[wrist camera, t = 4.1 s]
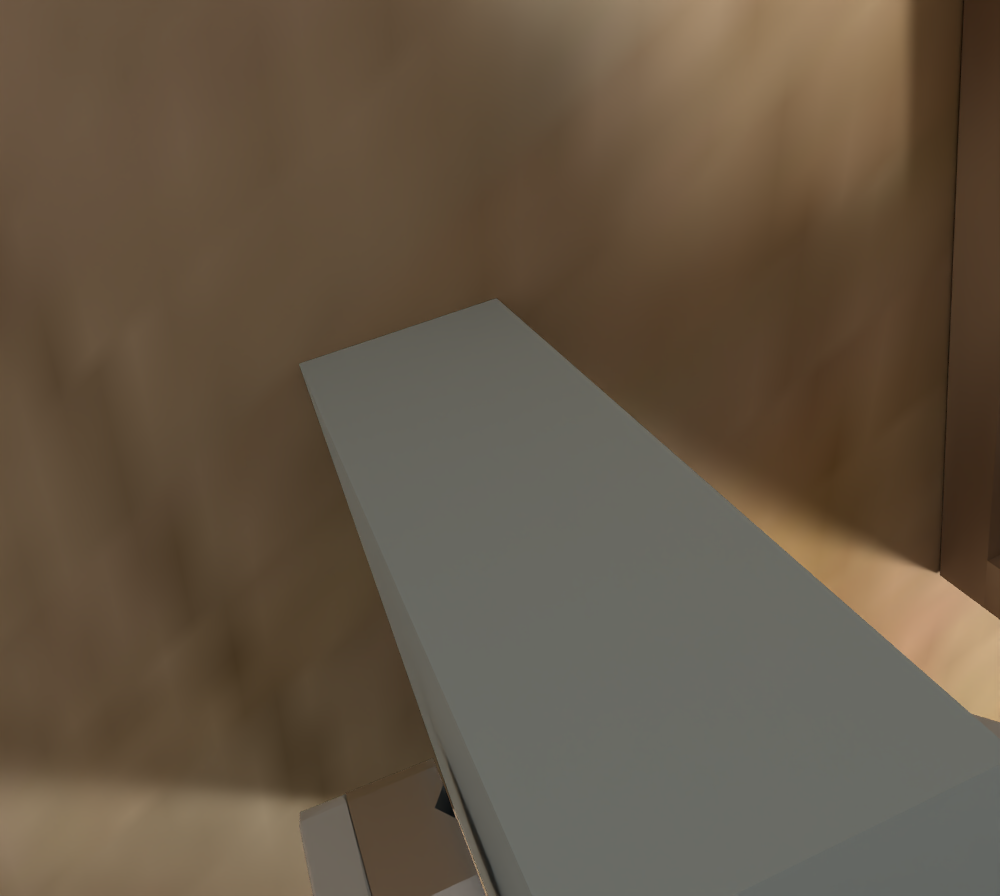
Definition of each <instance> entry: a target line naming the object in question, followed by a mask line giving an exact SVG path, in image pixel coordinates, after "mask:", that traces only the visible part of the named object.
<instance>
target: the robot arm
mask: <svg viewBox="0 0 1000 896" xmlns="http://www.w3.org/2000/svg"><path fill="white" fill-rule="evenodd" d="M972 715H973V716H974V717H975V718H976V719H978V720H979V721H980V722H981V723H982V724H983V725H984V726H986V727H987V728H988V729H989V730H990V731H991V732H992V733H994V734H995V735H996V736H997V737H998V738H999V739H1000V722H997V721H993V720H990V719H987V718H983V717H980V716H977V715H974V714H972ZM299 827H300V832H301V837H302V842H303V847H304V852H305V857H306V862H307V867H308V872H309V877H310V883H311V888H312V893H313V896H485V893H484V890H483V888H482V885H481V882H480V880H479V877H478V874H477V871H476V869H475V866H474V863H473V861H472V858H471V855H470V853H469V850H468V847H467V845H466V842H465V839H464V837H463V834H462V831H461V829H460V826H459V823H458V821H457V819H456V818H455V815H454V812H453V809H452V807H451V804H450V801H449V798H448V796H447V793H446V790H445V787H444V785H443V782H442V780H441V777H440V775H439V772H438V770H437V767H436V765H435V762H434V759H433V758H432V759H429V760H427V761H424V762H422V763H419V764H417V765H414V766H412V767H409V768H407V769H404V770H402V771H399V772H397V773H394V774H392V775H389V776H387V777H384V778H382V779H379V780H377V781H374V782H372V783H369V784H367V785H364V786H362V787H359V788H357V789H354V790H352V791H349V792H347V793H346V794H344V795H341V796H339V797H336V798H334V799H331V800H329V801H326V802H324V803H321V804H319V805H316V806H314V807H311V808H309V809H306V810H304V811H301V812H300V821H299Z"/></svg>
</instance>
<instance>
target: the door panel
mask: <svg viewBox="0 0 1000 896" xmlns="http://www.w3.org/2000/svg"><path fill="white" fill-rule="evenodd" d="M299 366H300V368H301V371H302V374H303V377H304V380H305V383H306V386H307V389H308V391H309V394H310V397H311V400H312V403H313V406H314V409H315V411H316V414H317V417H318V420H319V423H320V426H321V429H322V431H323V434H324V437H325V440H326V443H327V446H328V449H329V451H330V454H331V457H332V460H333V463H334V466H335V469H336V472H337V474H338V477H339V480H340V483H341V486H342V489H343V492H344V494H345V497H346V500H347V503H348V506H349V509H350V512H351V514H352V517H353V520H354V523H355V526H356V529H357V532H358V535H359V537H360V540H361V543H362V546H363V549H364V552H365V555H366V557H367V560H368V563H369V566H370V569H371V572H372V575H373V577H374V580H375V583H376V586H377V589H378V592H379V595H380V598H381V600H382V603H383V606H384V609H385V612H386V615H387V618H388V620H389V623H390V626H391V629H392V632H393V635H394V638H395V640H396V643H397V646H398V649H399V652H400V655H401V658H402V660H403V663H404V666H405V669H406V672H407V675H408V678H409V681H410V683H411V686H412V689H413V692H414V695H415V698H416V701H417V703H418V706H419V709H420V712H421V715H422V718H423V721H424V723H425V726H426V729H427V732H428V735H429V738H430V741H431V744H432V746H433V749H434V752H435V755H436V758H437V761H438V764H439V766H440V769H441V772H442V775H443V778H444V781H445V784H446V786H447V789H448V792H449V795H450V798H451V801H452V804H453V807H454V809H455V812H456V814H457V817H458V820H459V822H460V825H461V827H462V830H463V832H464V835H465V837H466V840H467V843H468V845H469V848H470V850H471V853H472V855H473V858H474V860H475V863H476V866H477V868H478V871H479V873H480V876H481V878H482V881H483V883H484V886H485V889H486V891H487V894H488V896H1000V739H999V738H998V737H997V736H996V735H995V734H994V733H992V732H991V731H990V730H989V729H988V728H987V727H986V726H984V725H983V724H982V723H981V722H980V721H979V720H978V719H976V718H975V717H974V716H973V715H972V714H971V713H970V712H968V711H967V710H966V709H965V708H964V707H963V706H962V705H960V704H959V703H958V702H957V701H956V700H955V699H954V698H952V697H951V696H950V695H949V694H948V693H947V692H946V691H944V690H943V689H942V688H941V687H940V686H939V685H938V684H936V683H935V682H934V681H933V680H932V679H931V678H930V677H928V676H927V675H926V674H925V673H924V672H923V671H922V670H920V669H919V668H918V667H917V666H916V665H915V664H914V663H912V662H911V661H910V660H909V659H908V658H907V657H906V656H904V655H903V654H902V653H901V652H900V651H899V650H898V649H896V648H895V647H894V646H893V645H892V644H891V643H890V642H889V641H887V640H886V639H885V638H884V637H883V636H882V635H881V634H879V633H878V632H877V631H876V630H875V629H874V628H873V627H871V626H870V625H869V624H868V623H867V622H866V621H865V620H863V619H862V618H861V617H860V616H859V615H858V614H857V613H855V612H854V611H853V610H852V609H851V608H850V607H849V606H847V605H846V604H845V603H844V602H843V601H842V600H841V599H839V598H838V597H837V596H836V595H835V594H834V593H833V592H831V591H830V590H829V589H828V588H827V587H826V586H825V585H823V584H822V583H821V582H820V581H819V580H818V579H817V578H815V577H814V576H813V575H812V574H811V573H810V572H809V571H807V570H806V569H805V568H804V567H803V566H802V565H801V564H799V563H798V562H797V561H796V560H795V559H794V558H793V557H791V556H790V555H789V554H788V553H787V552H786V551H785V550H783V549H782V548H781V547H780V546H779V545H778V544H777V543H775V542H774V541H773V540H772V539H771V538H770V537H769V536H768V535H766V534H765V533H764V532H763V531H762V530H761V529H760V528H758V527H757V526H756V525H755V524H754V523H753V522H752V521H750V520H749V519H748V518H747V517H746V516H745V515H744V514H742V513H741V512H740V511H739V510H738V509H737V508H736V507H734V506H733V505H732V504H731V503H730V502H729V501H728V500H726V499H725V498H724V497H723V496H722V495H721V494H720V493H718V492H717V491H716V490H715V489H714V488H713V487H712V486H710V485H709V484H708V483H707V482H706V481H705V480H704V479H702V478H701V477H700V476H699V475H698V474H697V473H696V472H694V471H693V470H692V469H691V468H690V467H689V466H688V465H686V464H685V463H684V462H683V461H682V460H681V459H680V458H678V457H677V456H676V455H675V454H674V453H673V452H672V451H670V450H669V449H668V448H667V447H666V446H665V445H664V444H662V443H661V442H660V441H659V440H658V439H657V438H656V437H654V436H653V435H652V434H651V433H650V432H649V431H648V430H647V429H645V428H644V427H643V426H642V425H641V424H640V423H639V422H637V421H636V420H635V419H634V418H633V417H632V416H631V415H629V414H628V413H627V412H626V411H625V410H624V409H623V408H621V407H620V406H619V405H618V404H617V403H616V402H615V401H613V400H612V399H611V398H610V397H609V396H608V395H607V394H605V393H604V392H603V391H602V390H601V389H600V388H599V387H597V386H596V385H595V384H594V383H593V382H592V381H591V380H589V379H588V378H587V377H586V376H585V375H584V374H583V373H581V372H580V371H579V370H578V369H577V368H576V367H575V366H573V365H572V364H571V363H570V362H569V361H568V360H567V359H565V358H564V357H563V356H562V355H561V354H560V353H559V352H557V351H556V350H555V349H554V348H553V347H552V346H551V345H549V344H548V343H547V342H546V341H545V340H544V339H543V338H541V337H540V336H539V335H538V334H537V333H536V332H535V331H533V330H532V329H531V328H530V327H529V326H528V325H527V324H525V323H524V322H523V321H522V320H521V319H520V318H519V317H518V316H516V315H515V314H514V313H513V312H512V311H511V310H510V309H508V308H507V307H506V306H505V305H504V304H503V303H502V302H500V301H499V300H498V299H497V298H495V299H492V300H489V301H486V302H483V303H480V304H477V305H474V306H471V307H468V308H465V309H462V310H459V311H456V312H453V313H450V314H447V315H444V316H441V317H438V318H435V319H432V320H429V321H426V322H423V323H420V324H417V325H414V326H411V327H408V328H405V329H402V330H399V331H396V332H393V333H390V334H387V335H384V336H381V337H378V338H375V339H372V340H369V341H366V342H363V343H360V344H357V345H354V346H351V347H348V348H345V349H342V350H339V351H336V352H333V353H330V354H327V355H324V356H321V357H318V358H315V359H312V360H309V361H306V362H303V363H300V364H299Z"/></svg>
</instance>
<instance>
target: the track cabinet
mask: <svg viewBox="0 0 1000 896" xmlns="http://www.w3.org/2000/svg"><path fill="white" fill-rule="evenodd" d="M940 575H941V576H942V577H943V578H945V579H946V580H947V581H949V582H950V583H951V584H953V585H954V586H955V587H957V588H958V589H959V590H961V591H962V592H964V593H965V594H966V595H968V596H969V597H970V598H972V599H973V600H974V601H976V602H977V603H978V604H980V605H981V606H982V607H984V608H985V609H986V610H988V611H989V612H991V613H992V614H993V615H995V616H996V617H997V618H999V619H1000V0H964V18H963V42H962V65H961V89H960V113H959V137H958V161H957V184H956V208H955V232H954V256H953V280H952V303H951V327H950V351H949V375H948V399H947V423H946V446H945V470H944V494H943V518H942V542H941V565H940Z"/></svg>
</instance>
